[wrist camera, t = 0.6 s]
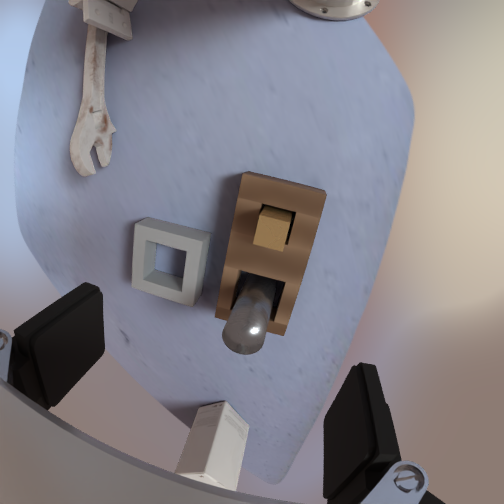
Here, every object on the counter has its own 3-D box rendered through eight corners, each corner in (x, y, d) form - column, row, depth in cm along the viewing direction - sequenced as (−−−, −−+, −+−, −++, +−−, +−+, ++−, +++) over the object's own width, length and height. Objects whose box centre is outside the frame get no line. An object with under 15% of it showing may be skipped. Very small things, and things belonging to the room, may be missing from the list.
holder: (148, 217, 38) (135, 223, 35) (211, 233, 38) (202, 241, 34) (143, 276, 42) (131, 287, 39) (201, 294, 41) (192, 307, 38)
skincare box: (198, 405, 49) (170, 472, 35) (228, 399, 47) (203, 472, 33) (223, 432, 51) (202, 496, 37) (252, 426, 49) (235, 496, 35)
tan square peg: (265, 205, 33) (259, 214, 29) (292, 211, 33) (290, 222, 28) (260, 230, 34) (252, 243, 30) (285, 237, 34) (282, 251, 30)
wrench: (122, -3, 30) (120, 173, 37) (113, 1, 31) (109, 176, 37) (94, -24, 23) (81, 174, 29) (84, -18, 23) (70, 177, 29)
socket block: (248, 171, 34) (242, 173, 31) (324, 190, 34) (326, 194, 30) (221, 303, 41) (214, 317, 38) (285, 321, 40) (283, 336, 37)
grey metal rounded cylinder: (249, 266, 38) (225, 315, 27) (280, 274, 38) (268, 327, 27) (242, 293, 40) (219, 347, 29) (272, 301, 40) (258, 358, 28)
